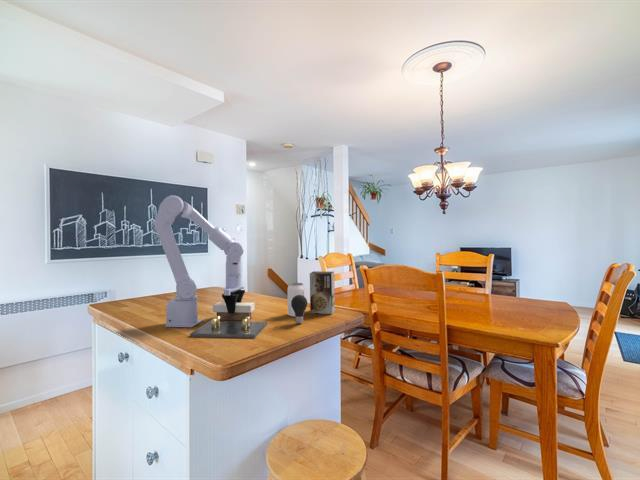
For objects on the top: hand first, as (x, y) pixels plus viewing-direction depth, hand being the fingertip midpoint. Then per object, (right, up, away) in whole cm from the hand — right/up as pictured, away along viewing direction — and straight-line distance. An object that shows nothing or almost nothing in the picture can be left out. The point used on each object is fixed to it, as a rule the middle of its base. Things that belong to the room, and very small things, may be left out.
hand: (234, 311), depth 112 cm
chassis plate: (+3, -3, -14) cm, 15 cm away
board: (0, 0, 0) cm, 0 cm away
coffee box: (+33, -3, +10) cm, 34 cm away
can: (+22, -3, +5) cm, 23 cm away
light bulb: (+25, -3, -7) cm, 26 cm away
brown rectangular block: (0, -3, 0) cm, 3 cm away
